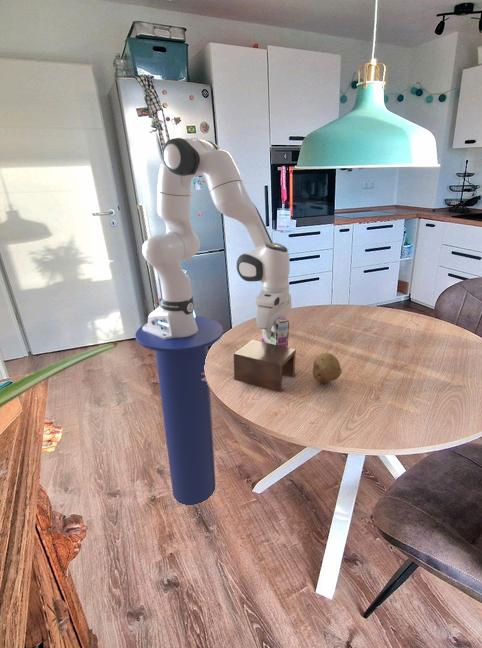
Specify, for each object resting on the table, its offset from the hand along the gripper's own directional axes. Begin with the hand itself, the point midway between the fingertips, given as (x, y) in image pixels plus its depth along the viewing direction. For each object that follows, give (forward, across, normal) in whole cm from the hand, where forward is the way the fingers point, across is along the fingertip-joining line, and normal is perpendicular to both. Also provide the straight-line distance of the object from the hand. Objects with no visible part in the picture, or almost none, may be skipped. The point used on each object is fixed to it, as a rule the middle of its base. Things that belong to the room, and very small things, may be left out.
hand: (275, 332), depth 134 cm
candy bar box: (+11, 0, 0) cm, 11 cm away
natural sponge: (+11, +7, +22) cm, 25 cm away
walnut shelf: (+10, +13, +3) cm, 17 cm away
